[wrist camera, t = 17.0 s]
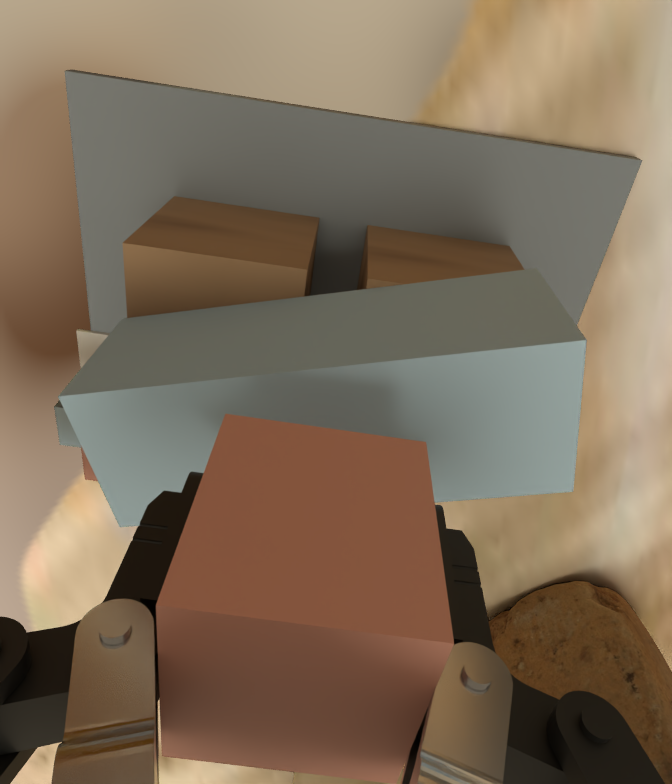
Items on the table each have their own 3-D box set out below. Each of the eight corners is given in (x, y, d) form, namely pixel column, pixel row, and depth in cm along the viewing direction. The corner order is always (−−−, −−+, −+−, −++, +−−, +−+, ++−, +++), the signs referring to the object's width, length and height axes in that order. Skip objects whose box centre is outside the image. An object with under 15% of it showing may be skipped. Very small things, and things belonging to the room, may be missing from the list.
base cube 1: (472, 368, 28) (496, 446, 22) (346, 351, 27) (342, 425, 22) (509, 245, 24) (547, 304, 19) (367, 224, 24) (368, 278, 19)
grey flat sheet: (514, 469, 31) (516, 476, 31) (104, 413, 31) (100, 420, 30) (636, 157, 23) (642, 160, 22) (71, 69, 22) (64, 70, 22)
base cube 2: (304, 345, 27) (290, 419, 22) (176, 327, 27) (132, 397, 22) (319, 217, 24) (307, 269, 19) (174, 196, 24) (122, 242, 19)
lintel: (532, 398, 21) (573, 491, 17) (165, 434, 23) (119, 527, 19) (536, 268, 19) (586, 340, 14) (122, 318, 20) (58, 396, 16)
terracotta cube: (388, 575, 15) (395, 784, 11) (218, 553, 15) (161, 756, 11) (426, 442, 13) (454, 643, 9) (225, 413, 13) (155, 604, 9)
